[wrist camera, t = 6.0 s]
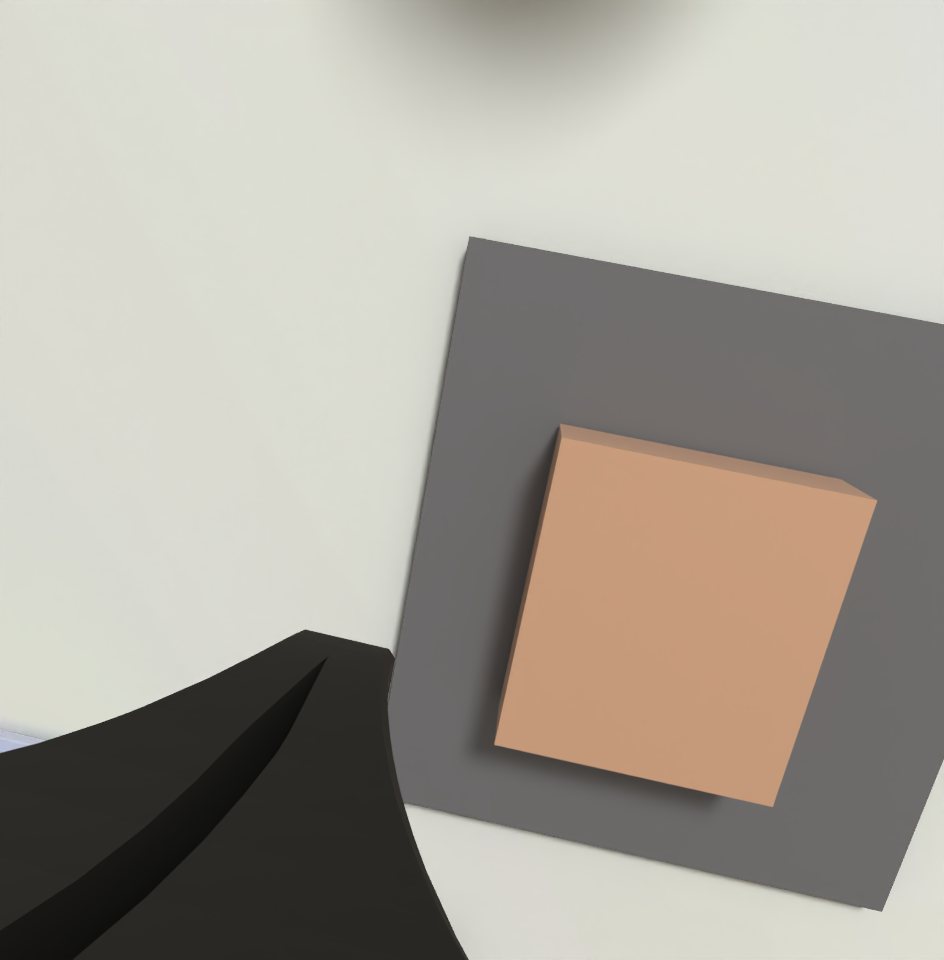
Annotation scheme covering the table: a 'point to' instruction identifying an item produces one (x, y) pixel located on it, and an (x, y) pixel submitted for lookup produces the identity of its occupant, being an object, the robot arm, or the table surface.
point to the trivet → (707, 428)
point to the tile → (677, 612)
